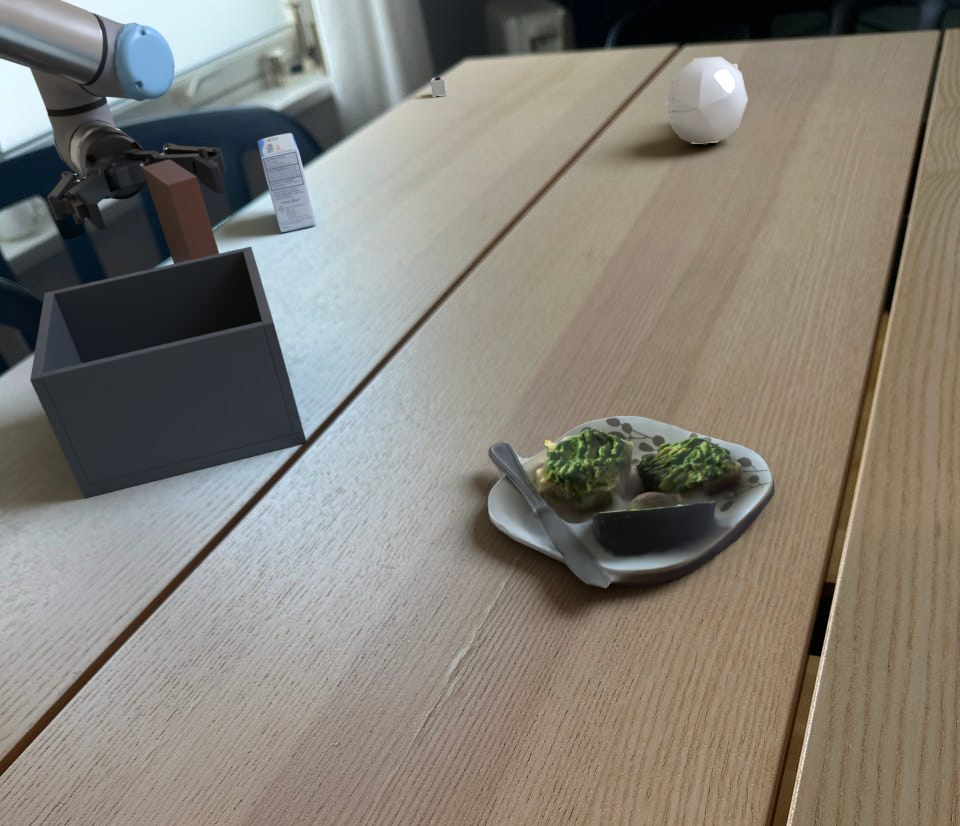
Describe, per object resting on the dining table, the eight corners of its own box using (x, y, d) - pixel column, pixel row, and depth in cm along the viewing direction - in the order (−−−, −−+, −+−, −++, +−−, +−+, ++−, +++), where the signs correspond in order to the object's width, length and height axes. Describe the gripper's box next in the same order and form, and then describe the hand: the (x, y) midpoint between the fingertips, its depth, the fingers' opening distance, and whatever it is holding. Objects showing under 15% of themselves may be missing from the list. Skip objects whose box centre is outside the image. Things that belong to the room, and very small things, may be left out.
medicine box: (317, 226, 119) (299, 148, 114) (280, 234, 119) (260, 156, 113) (310, 206, 125) (293, 131, 120) (275, 214, 125) (255, 138, 119)
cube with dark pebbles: (446, 96, 158) (443, 78, 157) (432, 97, 159) (430, 80, 157) (447, 92, 160) (445, 74, 158) (434, 94, 160) (431, 76, 159)
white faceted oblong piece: (686, 170, 121) (708, 146, 133) (757, 114, 116) (774, 94, 127) (641, 102, 119) (668, 84, 130) (711, 41, 113) (733, 28, 124)
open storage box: (83, 498, 78) (29, 379, 72) (89, 400, 91) (44, 292, 85) (306, 442, 80) (273, 322, 74) (281, 354, 93) (251, 246, 87)
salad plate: (413, 521, 70) (401, 463, 67) (582, 410, 78) (578, 355, 75) (635, 630, 58) (633, 567, 55) (805, 487, 67) (811, 425, 64)
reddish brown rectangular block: (205, 305, 105) (167, 185, 97) (179, 281, 111) (141, 166, 104) (232, 296, 106) (196, 176, 98) (205, 273, 112) (169, 159, 104)
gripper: (214, 165, 131) (274, 201, 116) (22, 221, 123) (59, 267, 108) (196, 101, 126) (256, 130, 111) (-6, 156, 118) (30, 195, 103)
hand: (159, 198), depth 110 cm, fingers open, 13 cm apart
